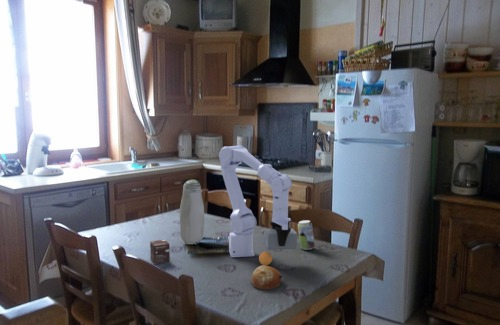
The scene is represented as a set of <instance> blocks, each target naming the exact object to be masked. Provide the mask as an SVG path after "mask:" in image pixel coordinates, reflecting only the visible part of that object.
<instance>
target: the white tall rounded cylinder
mask: <svg viewBox="0 0 500 325" xmlns="http://www.w3.org/2000/svg"><path fill="white" fill-rule="evenodd" d="M202 194H203V193H202V186H201V183H200V182H199V181H198V180H197V179H189V180H187V181H186V182H184V184H183V188H182V196H181V199H180V206H179V224H180V226H179V227H180V230H179V231H180V238H181V240H182V241H183V243H184V244H186V245H188V244H187V243H195V242H198V241H200V240H201V241H202V240H203V238H204V234H205V204H204V200H203V196H202ZM201 241H200V242H201Z"/></svg>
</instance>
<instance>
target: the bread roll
mask: <svg viewBox="0 0 500 325" xmlns="http://www.w3.org/2000/svg"><path fill="white" fill-rule="evenodd" d="M282 278H283V276H282V274H281V272H279V270H277V269H276V268H275V267H273V266H269V265H262V264H261V265H260V266H258V267H256V268H255V270H254V271H252V275H251V281H250V283H252V285H253V287H254V288H256V289H258V290H271V289H275V288H279V286H280V285H281V283H282V282H281V281H282Z"/></svg>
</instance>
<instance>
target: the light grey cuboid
mask: <svg viewBox="0 0 500 325" xmlns="http://www.w3.org/2000/svg"><path fill="white" fill-rule="evenodd" d="M297 242H298V232H296V231H295V229H293V228H291V231H290V232H289V234H288V236H287V240H286V243H285V246H279V244H278V236H277V232H276V230H275V229H272V228H264V237H263V245H264V246H265V248H266V249H267V250H275V251H276V250H277V251H278V250H297V246H298V243H297Z"/></svg>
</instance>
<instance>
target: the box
mask: <svg viewBox="0 0 500 325" xmlns="http://www.w3.org/2000/svg"><path fill="white" fill-rule="evenodd" d="M149 243H150V245H149V246H150V252H149V254H150V255H149V256H150V261H151V262H152V263H153V264H154V265H159V264H166V263H170V261H171V258H170V257H171V256H170V254H171V253H170V249H171V248H170V242H168V240H166V239H160V240H152V241H150V242H149Z"/></svg>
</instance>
